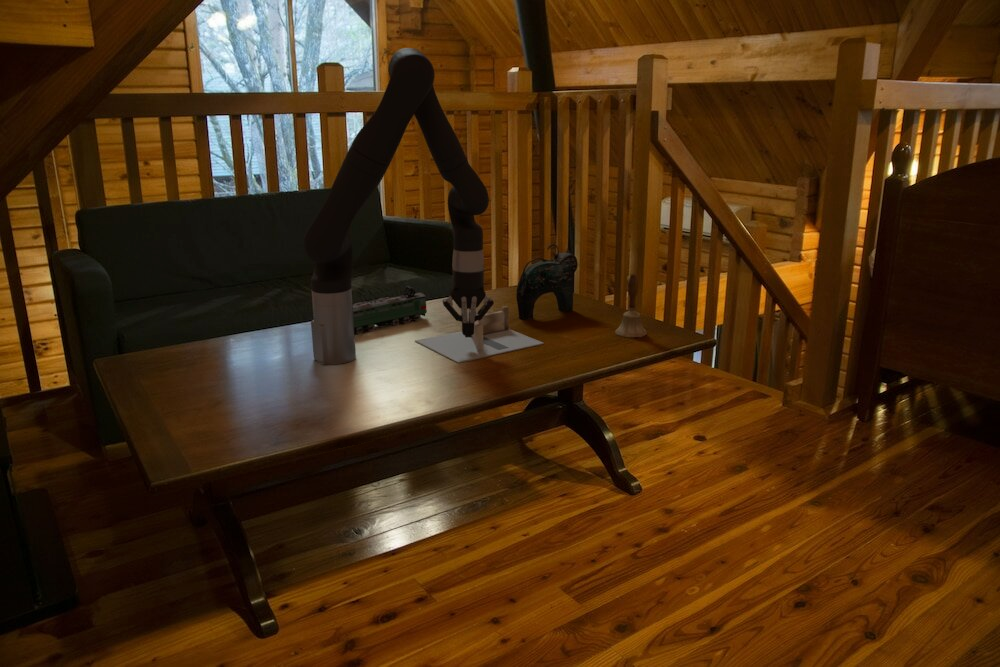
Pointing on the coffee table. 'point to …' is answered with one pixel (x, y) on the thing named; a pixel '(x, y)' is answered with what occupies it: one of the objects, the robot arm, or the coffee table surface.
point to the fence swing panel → (478, 335)
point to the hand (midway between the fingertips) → (468, 336)
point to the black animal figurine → (547, 282)
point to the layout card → (465, 348)
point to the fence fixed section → (495, 320)
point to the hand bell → (631, 314)
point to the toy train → (389, 310)
